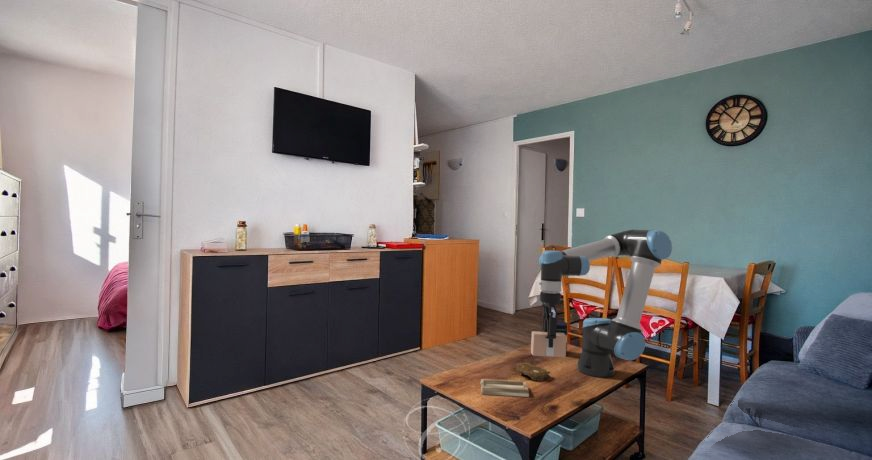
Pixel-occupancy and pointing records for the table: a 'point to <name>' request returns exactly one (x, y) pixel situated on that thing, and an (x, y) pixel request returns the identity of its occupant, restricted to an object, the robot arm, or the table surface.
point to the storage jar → (562, 328)
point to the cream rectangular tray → (504, 387)
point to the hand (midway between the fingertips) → (548, 353)
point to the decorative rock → (532, 371)
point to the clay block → (540, 344)
